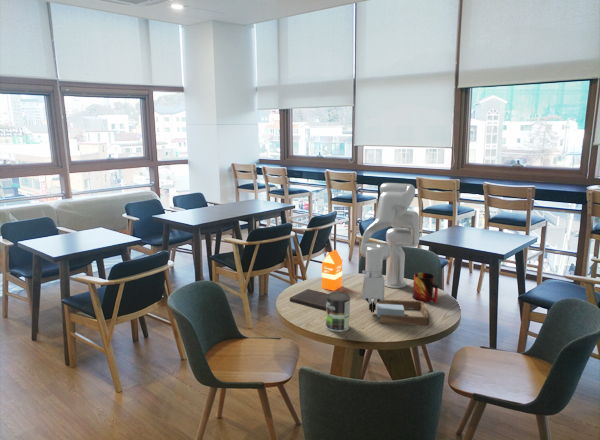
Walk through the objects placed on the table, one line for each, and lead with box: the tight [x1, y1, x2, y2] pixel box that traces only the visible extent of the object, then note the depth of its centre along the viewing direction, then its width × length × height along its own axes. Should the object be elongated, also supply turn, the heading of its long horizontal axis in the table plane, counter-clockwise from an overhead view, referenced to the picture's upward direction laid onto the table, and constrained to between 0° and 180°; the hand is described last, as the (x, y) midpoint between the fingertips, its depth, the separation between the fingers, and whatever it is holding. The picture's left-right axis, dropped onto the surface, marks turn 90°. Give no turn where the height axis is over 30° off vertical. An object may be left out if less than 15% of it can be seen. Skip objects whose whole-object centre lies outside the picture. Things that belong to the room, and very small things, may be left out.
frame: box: [377, 299, 430, 327], centre depth 215 cm, size 20×21×4 cm
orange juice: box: [321, 249, 343, 291], centre depth 252 cm, size 8×9×20 cm
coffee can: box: [325, 291, 351, 333], centre depth 202 cm, size 10×10×14 cm
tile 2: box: [390, 304, 405, 316], centre depth 216 cm, size 6×6×4 cm
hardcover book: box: [289, 288, 328, 312], centre depth 233 cm, size 16×23×2 cm
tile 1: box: [376, 303, 391, 318], centre depth 216 cm, size 6×6×4 cm
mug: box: [412, 272, 439, 304], centre depth 235 cm, size 10×14×12 cm
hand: (372, 311), depth 217 cm, fingers closed
